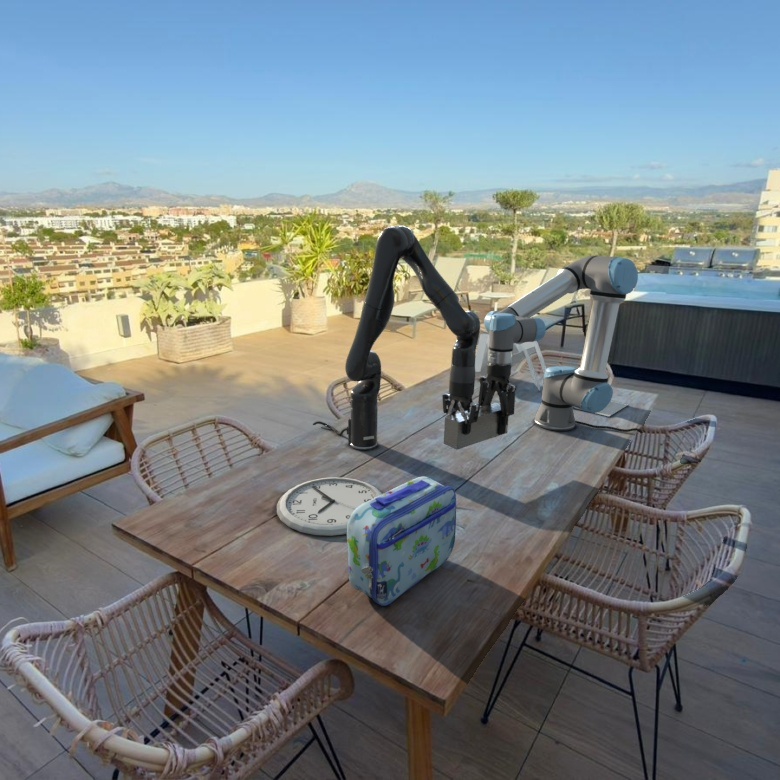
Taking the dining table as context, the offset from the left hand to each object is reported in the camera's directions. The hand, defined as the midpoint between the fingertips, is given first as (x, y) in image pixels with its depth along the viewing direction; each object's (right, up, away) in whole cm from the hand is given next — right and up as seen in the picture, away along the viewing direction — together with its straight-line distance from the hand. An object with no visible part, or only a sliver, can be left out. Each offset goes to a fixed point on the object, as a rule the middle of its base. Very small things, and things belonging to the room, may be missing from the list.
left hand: (458, 430), depth 161 cm
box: (+6, -3, +6) cm, 9 cm away
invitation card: (+70, +5, +65) cm, 96 cm away
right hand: (+13, -1, +11) cm, 17 cm away
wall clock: (-37, -19, -19) cm, 46 cm away
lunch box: (-18, -28, -48) cm, 58 cm away
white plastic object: (+35, +15, +95) cm, 102 cm away
